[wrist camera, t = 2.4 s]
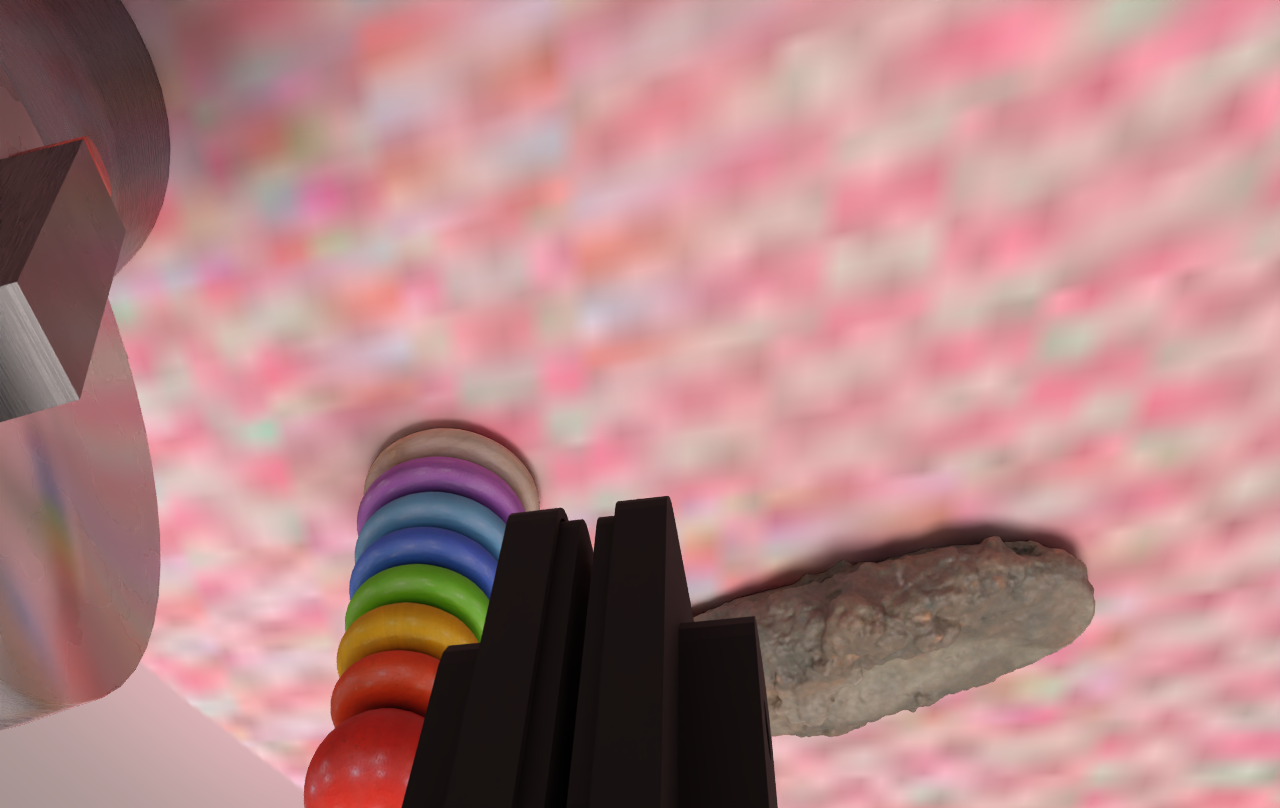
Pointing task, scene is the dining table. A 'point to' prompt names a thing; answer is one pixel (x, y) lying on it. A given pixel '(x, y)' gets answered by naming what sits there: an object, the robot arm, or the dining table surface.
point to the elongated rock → (909, 630)
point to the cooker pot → (93, 96)
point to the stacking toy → (412, 602)
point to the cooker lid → (66, 436)
